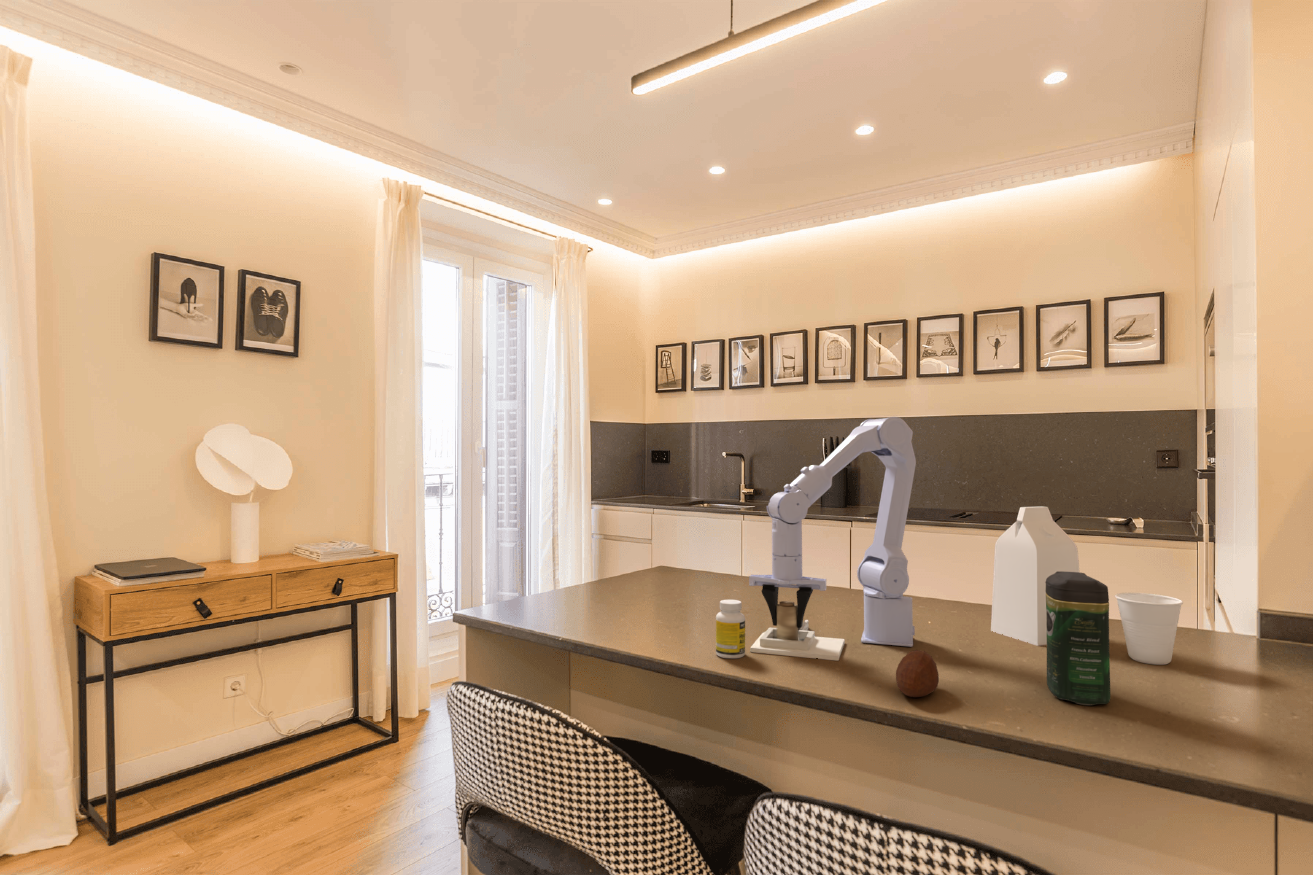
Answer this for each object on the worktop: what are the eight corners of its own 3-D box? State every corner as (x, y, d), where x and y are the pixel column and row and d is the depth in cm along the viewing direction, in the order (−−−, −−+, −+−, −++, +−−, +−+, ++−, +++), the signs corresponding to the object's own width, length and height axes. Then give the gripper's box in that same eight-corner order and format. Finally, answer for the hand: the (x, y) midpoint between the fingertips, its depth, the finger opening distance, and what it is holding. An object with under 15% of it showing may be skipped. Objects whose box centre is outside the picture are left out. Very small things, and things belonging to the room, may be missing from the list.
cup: (1123, 648, 128) (1121, 590, 129) (1189, 659, 121) (1187, 597, 122) (1110, 660, 122) (1108, 598, 122) (1179, 672, 114) (1177, 606, 115)
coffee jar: (1118, 710, 98) (1115, 580, 98) (1055, 703, 100) (1053, 577, 101) (1099, 688, 107) (1096, 569, 107) (1042, 683, 110) (1040, 567, 110)
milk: (1035, 626, 146) (1033, 504, 146) (1084, 640, 135) (1081, 508, 135) (990, 631, 142) (988, 505, 143) (1037, 645, 131) (1035, 510, 132)
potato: (887, 701, 102) (887, 658, 102) (904, 679, 112) (903, 640, 112) (930, 709, 99) (930, 664, 99) (943, 686, 108) (943, 645, 109)
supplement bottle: (744, 660, 123) (743, 605, 123) (714, 658, 124) (713, 604, 124) (746, 651, 128) (746, 599, 128) (717, 650, 129) (717, 597, 129)
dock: (848, 630, 142) (848, 620, 143) (838, 660, 122) (838, 648, 122) (772, 624, 148) (772, 614, 148) (750, 651, 127) (750, 640, 128)
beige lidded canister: (798, 637, 132) (798, 600, 132) (797, 642, 128) (796, 604, 129) (777, 636, 133) (777, 600, 133) (776, 641, 129) (775, 603, 130)
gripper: (745, 555, 130) (745, 627, 130) (822, 559, 125) (823, 633, 125) (753, 550, 137) (753, 618, 136) (827, 554, 132) (828, 624, 131)
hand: (787, 625), depth 131 cm, fingers closed on beige lidded canister, 4 cm apart
